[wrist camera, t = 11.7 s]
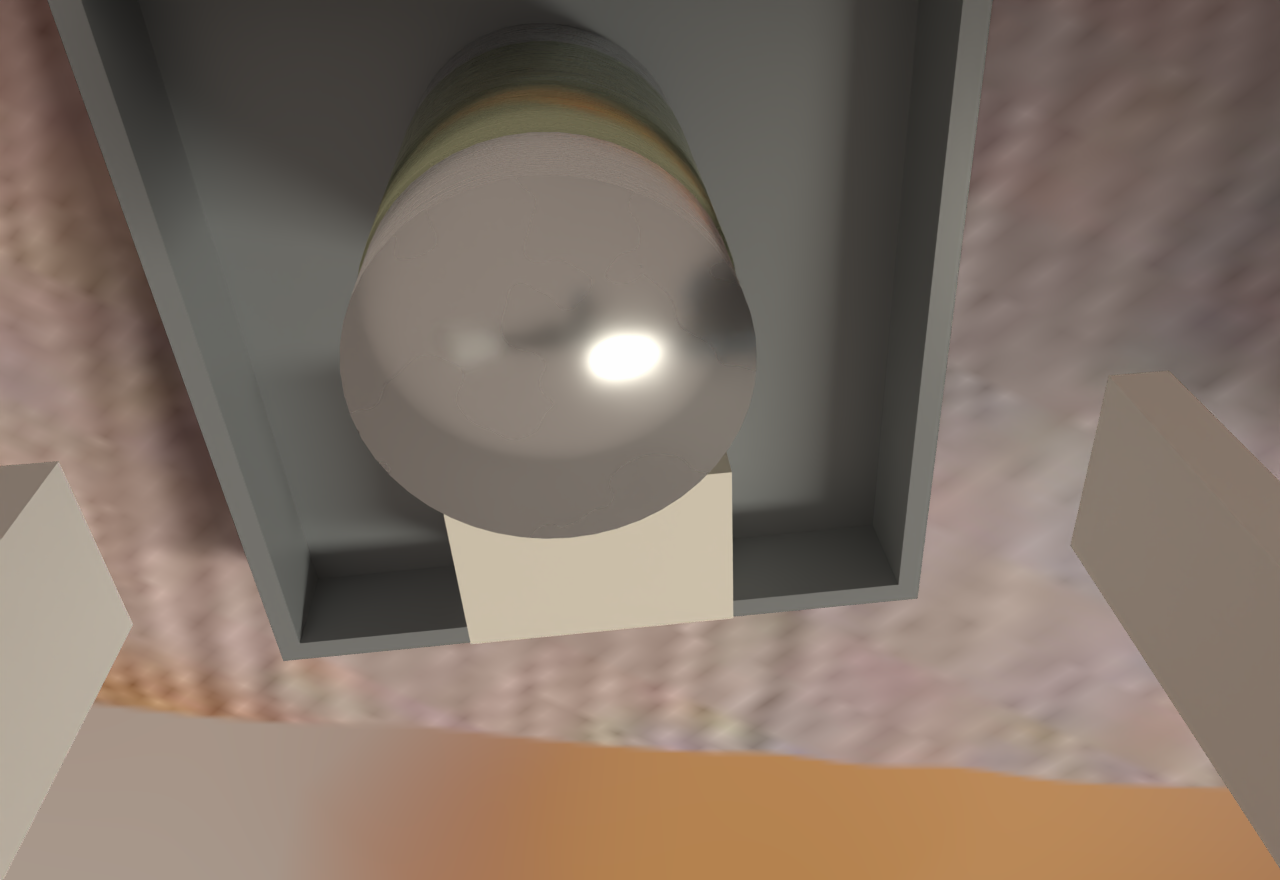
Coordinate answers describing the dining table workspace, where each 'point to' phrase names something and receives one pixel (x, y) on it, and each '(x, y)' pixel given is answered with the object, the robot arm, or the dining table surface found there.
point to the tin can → (546, 296)
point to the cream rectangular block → (602, 571)
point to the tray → (737, 187)
